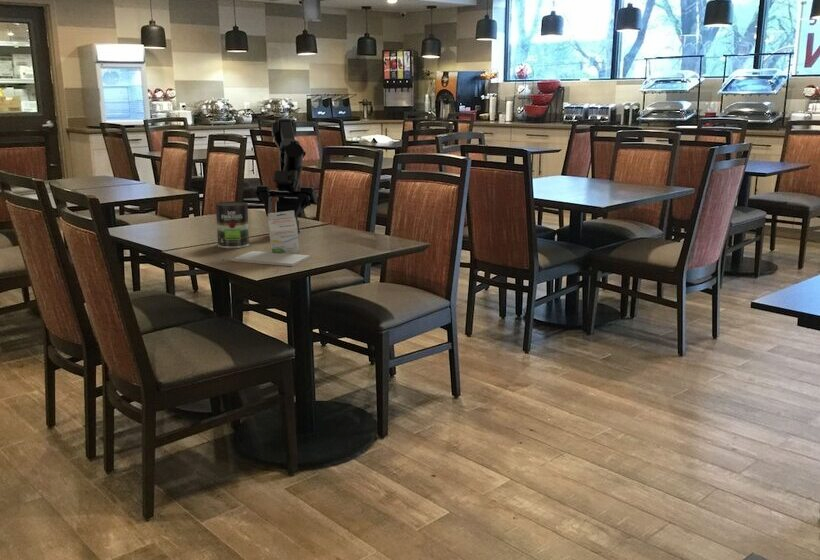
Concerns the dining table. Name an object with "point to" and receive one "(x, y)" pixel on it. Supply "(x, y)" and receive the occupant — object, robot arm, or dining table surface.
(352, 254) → the dining table surface
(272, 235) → the ink box
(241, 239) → the coffee can
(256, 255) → the mat
